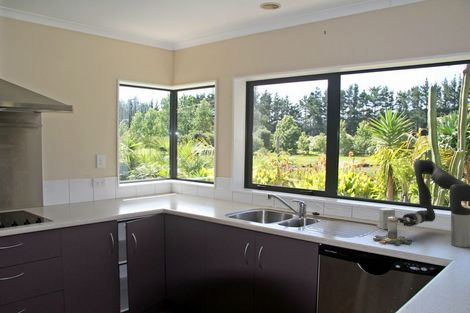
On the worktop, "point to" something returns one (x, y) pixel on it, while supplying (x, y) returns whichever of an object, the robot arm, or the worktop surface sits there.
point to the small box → (385, 217)
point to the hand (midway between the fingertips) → (397, 222)
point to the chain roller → (392, 227)
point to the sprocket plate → (393, 240)
